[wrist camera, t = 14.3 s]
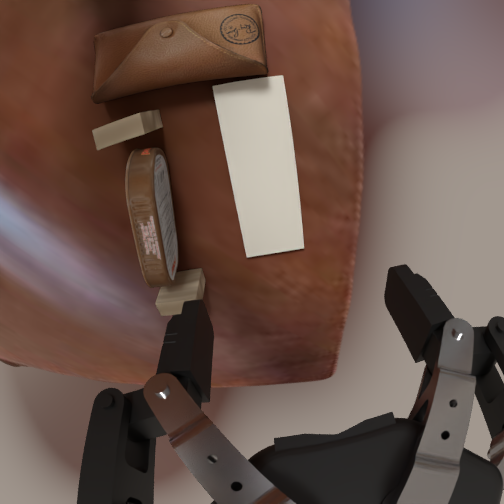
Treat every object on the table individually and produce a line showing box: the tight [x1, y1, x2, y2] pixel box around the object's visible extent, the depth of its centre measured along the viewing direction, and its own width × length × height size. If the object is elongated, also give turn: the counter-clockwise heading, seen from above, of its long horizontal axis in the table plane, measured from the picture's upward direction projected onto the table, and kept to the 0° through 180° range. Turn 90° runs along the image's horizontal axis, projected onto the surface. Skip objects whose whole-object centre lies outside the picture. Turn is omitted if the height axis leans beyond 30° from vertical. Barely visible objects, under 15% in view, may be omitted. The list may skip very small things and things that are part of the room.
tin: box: [125, 147, 178, 288], centre depth 27 cm, size 15×3×8 cm, turn 0°
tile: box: [212, 75, 304, 257], centre depth 29 cm, size 20×7×1 cm, turn 9°
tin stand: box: [92, 110, 206, 316], centre depth 28 cm, size 22×5×6 cm, turn 9°
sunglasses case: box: [91, 4, 268, 104], centre depth 20 cm, size 18×7×7 cm
